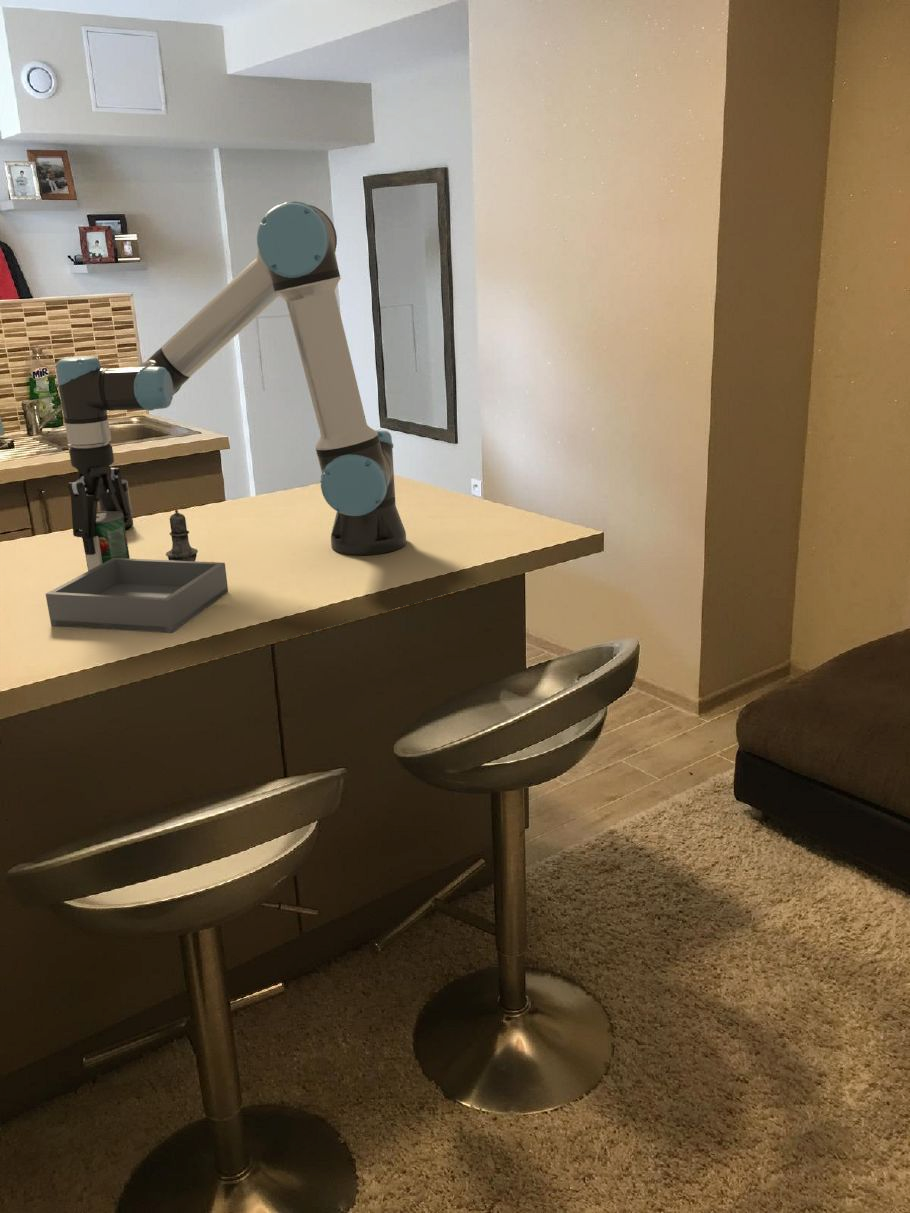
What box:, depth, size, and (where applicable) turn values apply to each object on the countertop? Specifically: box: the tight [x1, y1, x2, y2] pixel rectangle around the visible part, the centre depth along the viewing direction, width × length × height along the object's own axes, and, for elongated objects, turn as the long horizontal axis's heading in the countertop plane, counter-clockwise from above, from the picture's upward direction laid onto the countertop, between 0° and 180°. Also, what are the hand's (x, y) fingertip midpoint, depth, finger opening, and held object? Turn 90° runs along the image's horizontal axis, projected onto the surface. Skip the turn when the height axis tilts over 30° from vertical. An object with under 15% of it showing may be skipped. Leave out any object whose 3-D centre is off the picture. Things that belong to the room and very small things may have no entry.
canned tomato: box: [85, 511, 131, 572], centre depth 191 cm, size 8×8×11 cm
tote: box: [45, 558, 229, 634], centre depth 172 cm, size 22×20×6 cm
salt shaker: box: [165, 508, 199, 561], centre depth 190 cm, size 6×6×12 cm
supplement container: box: [97, 478, 134, 532], centre depth 222 cm, size 7×7×10 cm
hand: (108, 563), depth 192 cm, fingers closed on canned tomato, 8 cm apart
